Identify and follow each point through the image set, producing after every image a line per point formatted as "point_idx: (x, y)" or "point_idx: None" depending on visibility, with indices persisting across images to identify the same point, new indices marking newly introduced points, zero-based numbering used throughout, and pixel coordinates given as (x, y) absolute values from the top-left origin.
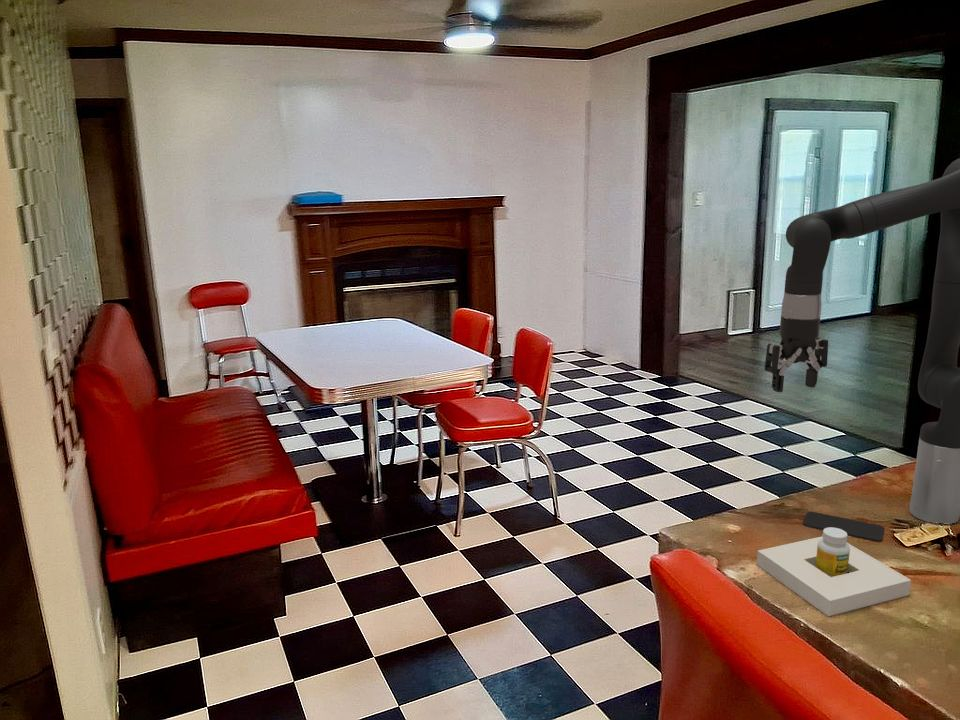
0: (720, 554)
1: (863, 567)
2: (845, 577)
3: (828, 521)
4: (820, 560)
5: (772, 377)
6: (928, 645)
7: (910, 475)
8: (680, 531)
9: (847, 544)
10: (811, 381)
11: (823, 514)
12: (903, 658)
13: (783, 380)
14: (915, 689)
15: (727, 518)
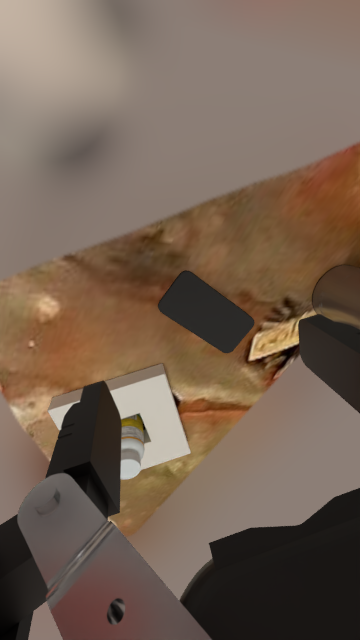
0: (9, 376)
1: (158, 437)
2: None
3: (195, 304)
4: None
5: (50, 464)
6: (157, 492)
7: None
8: None
9: (140, 459)
10: (321, 370)
11: (201, 282)
12: (129, 505)
13: (118, 479)
14: (118, 528)
15: (46, 277)
